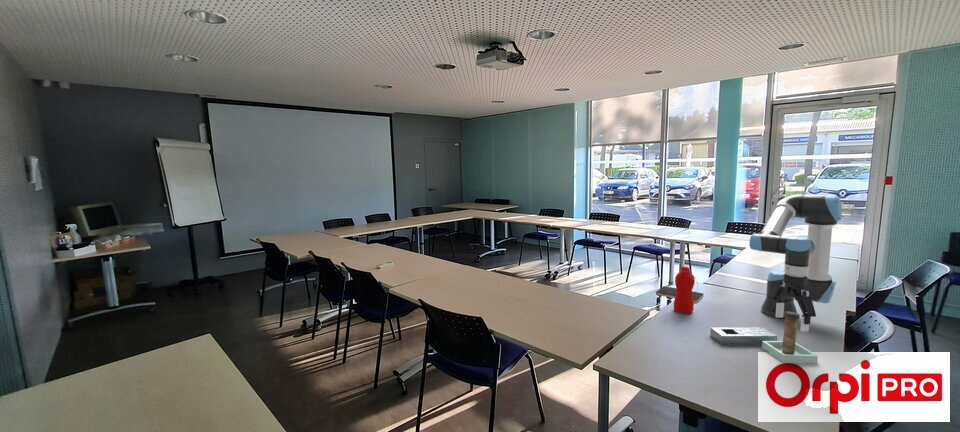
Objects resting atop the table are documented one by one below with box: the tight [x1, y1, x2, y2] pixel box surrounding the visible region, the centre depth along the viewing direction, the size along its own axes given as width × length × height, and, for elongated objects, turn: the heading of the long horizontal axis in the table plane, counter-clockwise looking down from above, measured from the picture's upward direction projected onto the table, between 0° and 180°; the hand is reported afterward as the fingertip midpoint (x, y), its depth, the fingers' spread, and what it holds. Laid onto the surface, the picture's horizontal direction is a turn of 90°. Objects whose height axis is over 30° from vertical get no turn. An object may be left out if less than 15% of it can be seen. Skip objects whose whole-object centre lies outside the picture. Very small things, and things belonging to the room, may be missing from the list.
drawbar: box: [709, 326, 778, 346], centre depth 174 cm, size 24×9×4 cm, turn 87°
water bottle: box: [673, 265, 699, 315], centre depth 208 cm, size 9×11×25 cm
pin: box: [782, 311, 801, 354], centre depth 159 cm, size 5×5×18 cm
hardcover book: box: [655, 285, 704, 304], centre depth 235 cm, size 16×23×2 cm
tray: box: [761, 340, 819, 364], centre depth 160 cm, size 13×13×3 cm
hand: (791, 323), depth 159 cm, fingers open, 13 cm apart
